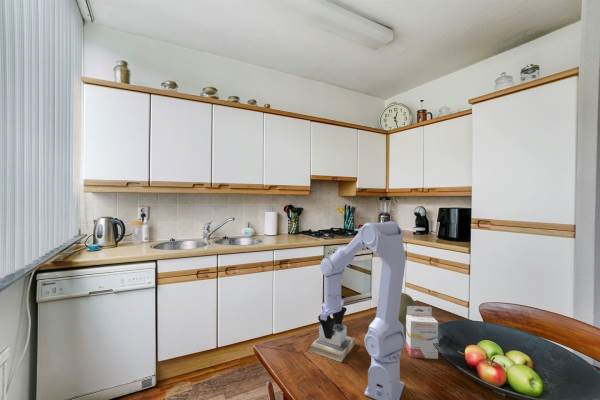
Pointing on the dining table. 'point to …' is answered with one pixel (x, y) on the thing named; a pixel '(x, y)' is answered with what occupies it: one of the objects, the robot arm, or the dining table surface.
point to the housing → (335, 335)
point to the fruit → (405, 309)
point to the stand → (332, 349)
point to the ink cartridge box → (421, 332)
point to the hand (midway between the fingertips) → (333, 333)
